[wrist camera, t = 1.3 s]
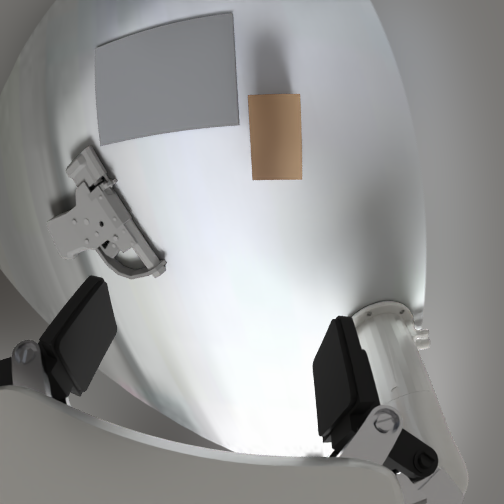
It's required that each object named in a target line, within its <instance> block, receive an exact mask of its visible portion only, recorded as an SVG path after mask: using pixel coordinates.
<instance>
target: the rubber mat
mask: <svg viewBox="0 0 504 504" xmlns="http://www.w3.org/2000/svg"><path fill="white" fill-rule="evenodd" d="M95 91H96V107H97V119H98V129H99V138H100V146H103V145H107V144H112V143H116V142H121V141H125V140H130V139H135V138H140V137H146V136H151V135H157V134H163V133H170V132H177V131H184V130H192V129H201V128H210V127H221V126H234V125H239V111H238V94H237V77H236V60H235V42H234V24H233V14H232V13H227V14H219V15H212V16H206V17H200V18H194V19H189V20H185V21H180V22H175V23H171V24H167V25H163V26H159V27H156V28H152V29H149V30H145V31H142V32H139V33H136V34H133V35H130V36H127V37H124V38H121V39H118V40H116V41H113V42H110V43H108V44H105V45H103V46H100V47H98V48H96V49H95Z"/></svg>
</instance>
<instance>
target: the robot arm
mask: <svg viewBox="0 0 504 504" xmlns="http://www.w3.org/2000/svg"><path fill="white" fill-rule="evenodd" d="M116 332H117V325H116V321H115V317H114V313H113V309H112V305H111V300H110V296H109V291H108V286H107V283H106V282H104V279H103V278H101V277H96V276H92V275H91V276H89V277H88V278H87V279H86V280H85V282H84V283H83V284H82V285H81V286H80V288H79V289H78V290H77V291H76V292H75V294H74V295H73V296H72V297H71V298H70V300H69V301H68V302H67V303H66V305H65V306H64V307H63V308H62V310H61V311H60V312H59V313H58V315H57V316H56V317H55V319H54V320H53V321H52V323H51V324H50V325H49V327H48V328H47V329H46V331H45V332H44V333H43V335H42V336H41V338H40V339H39V340H40V341H39V343H38V344H37V343H36V342H35V341H33V340H24V341H21V342H20V343H18V344H17V345H16V346H15V347H14V349H13V351H12V357H10V358H6V359H3V360H0V504H463V501H464V494H465V492H466V490H467V486H468V481H469V480H468V471H467V468H466V465H465V462H464V460H463V458H462V456H461V453H460V451H459V449H458V447H457V445H456V443H455V442H454V439H453V437H452V435H451V432H450V430H449V428H448V425H447V423H446V420H445V417H444V415H443V412H442V410H441V407H440V404H439V401H438V398H437V396H436V393H435V390H434V388H433V385H432V383H431V380H430V378H429V375H428V372H427V370H426V368H425V365H424V363H423V360H422V358H421V356H420V353H419V351H418V349H419V350H421V349H428V348H429V347H430V339H429V338H423V337H428V335H429V330H428V329H421V330H416V329H415V328H414V318H413V315H412V313H411V311H410V310H409V309H408V308H407V307H406V306H405V305H403V304H402V303H399V302H394V301H383V302H378V303H375V304H372V305H369V306H367V307H365V308H363V309H361V310H360V311H358V312H357V313H356V314H354V315H353V316H352V317H345V316H338V317H337V318H336V319H332V321H331V323H330V325H329V328H328V330H327V332H326V335H325V337H324V339H323V341H322V344H321V346H320V348H319V350H318V352H317V354H316V356H315V359H314V361H313V376H314V386H315V397H316V408H317V419H318V432H319V436H323V443H324V442H332V448H333V450H332V452H331V453H330V454H329V455H328V457H287V456H268V455H255V454H244V453H236V452H228V451H221V450H214V449H208V448H203V447H197V446H192V445H187V444H183V443H177V442H174V441H169V440H165V439H161V438H157V437H154V436H150V435H147V434H143V433H140V432H136V431H133V430H130V429H127V428H124V427H121V426H118V425H116V424H113V423H110V422H107V421H105V420H102V419H99V418H97V417H94V416H92V415H89V414H87V413H85V412H82V411H80V410H78V409H75V408H73V407H71V406H70V402H69V398H68V396H69V394H70V392H71V393H73V394H75V395H77V396H81V394H82V392H85V391H86V390H87V388H88V386H89V384H90V382H91V380H92V378H93V376H94V374H95V372H96V370H97V369H98V367H99V365H100V363H101V361H102V359H103V357H104V355H105V353H106V351H107V350H108V348H109V346H110V344H111V342H112V340H113V339H114V337H115V335H116ZM417 338H420V339H417Z"/></svg>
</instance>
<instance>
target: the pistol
mask: <svg viewBox="0 0 504 504" xmlns="http://www.w3.org/2000/svg"><path fill="white" fill-rule="evenodd" d="M66 173H67V175H68V176H69V177H70V178H72V179H73V180H74V182H75V183H76V185H77V187H78V188H77V189H76V190H75V195H76V206H75V207H74V208H73V209H72V210H69V211H67V212H64V213H62V214H59V215H57V216H55V217H54V218H52V219H51V220H49V221H47V224H46V226H47V228H48V230H49V233H50V235H51V237H52V239H53V242H54V244H55V246H56V248H57V250H58V252H59V254H60V256H61V258H65V259H74V258H75V257H76V256H77V255H78V253H79V252H82V251H85V250H87V249H92V250H96V251H97V253H98V254H99V255H100V257H101V258H102V259H103V261H104V262H105V264H106V265H107V266H108V267H109V268H111V269H112V270H113V271H114V272H115V273H117V274H118V275H120V276H123V277H126V278H129V279H135V278H140V277H144V276H149V275H151V274H152V275H153V276H154V278H156V277H158V276H160V275H161V274H162V273H163V272H165V271H166V268H165V266H164V265H165V264H166V263H167V262H166V261H165V260H162V259H161V260H159V258H158V257H157V256H156V254H155V253H154V251H153V250H152V249H151V247H150V246H149V244H148V243H147V242H146V240H145V239H144V236H143V235H142V233H141V232H140V230H139V229H138V227H137V226H136V224H135V223H134V221H133V220H132V219H131V217H132V216H131V215H130V213H129V212H128V210H127V209H126V207H125V206H124V204H123V203H122V201H121V200H120V198H119V197H118V195H117V193H116V192H115V190H114V189H113V184H115V183H116V182H117V179H114V180H112V179H109V178H108V177H107V175H106V174H107V171H106V170H105V168H104V167H103V165H102V163H101V162H100V160H99V158H98V156H97V155H96V153H95V151H94V150H93V148H92V146H88V147H87V148H85V149H84V150H83V151H82V152H81V153H80V154H79V155H78V156H77V157H76V158H75V159H74V160H73V161H72V162H71V163H70V165H69V166H68V167H67V169H66ZM102 177H104V178H105V179H106V181H105V182H103V183H102V184H101V185H100V183H101V182H102ZM98 184H99V185H98ZM107 240H108V241H110V242H109V244H107V242H106V241H107ZM131 247H132V248H133V249H134V251H135V252H136V253H137V255H138V256H139V258H140V259H141V260H142V262H143V263H144V264H145V266H146V268H142V269H137V270H134V269H131V268H128V267H125V266H123V265H122V264H121V263H120V262H118V261H117V260H116V259H115V258H114V257H115V256H116V255H117V254H118V252H119V251H120V250H121V251H122V252H123V253H124V252H125V251H127V250H128V249H130V248H131Z"/></svg>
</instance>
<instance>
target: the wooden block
mask: <svg viewBox="0 0 504 504" xmlns="http://www.w3.org/2000/svg"><path fill="white" fill-rule="evenodd" d="M248 107H249V124H250V142H251V161H252V179H253V180H296V179H298V180H302V134H301V104H300V94H263V95H248Z"/></svg>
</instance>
